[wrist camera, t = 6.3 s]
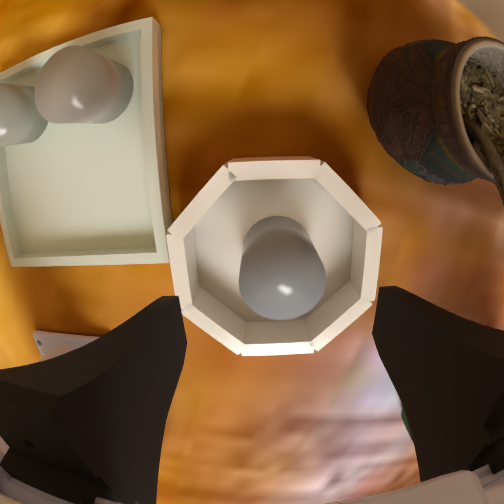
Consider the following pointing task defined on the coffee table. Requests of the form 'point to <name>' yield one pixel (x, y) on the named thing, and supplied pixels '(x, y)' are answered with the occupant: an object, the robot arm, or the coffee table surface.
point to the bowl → (231, 244)
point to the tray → (92, 169)
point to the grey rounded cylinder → (280, 269)
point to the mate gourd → (442, 109)
